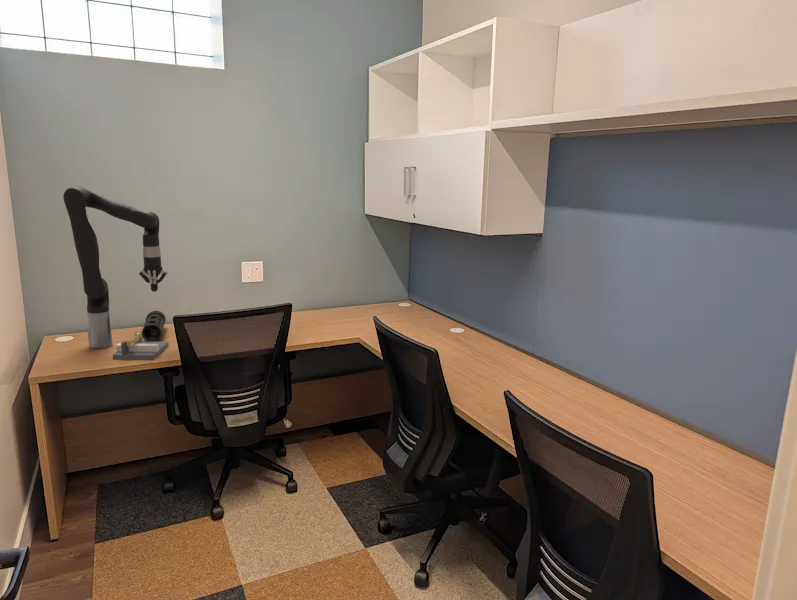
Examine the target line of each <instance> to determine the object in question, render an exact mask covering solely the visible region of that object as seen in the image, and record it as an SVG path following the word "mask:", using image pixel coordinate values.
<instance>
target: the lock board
mask: <svg viewBox="0 0 797 600" xmlns="http://www.w3.org/2000/svg"><path fill="white" fill-rule="evenodd" d="M126 341H127V340H123V341H122V342H121V343H120V342H118V343H117V344H116V345H115V348H116V352H115V353H113V354H112V359H113V360H155V359H156V358H157V357H158V356H159V355H160V354H161V353H162V352H164V350H165V349H166V348H168V345H169V341H159V340H157V341H146V340H145V341H144V340H143V338H142V339H141V340H139V341H137V342H136V343H135V344H134V345H132V346H127V345H126ZM169 346H170V345H169Z"/></svg>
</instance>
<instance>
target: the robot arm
mask: <svg viewBox="0 0 797 600" xmlns="http://www.w3.org/2000/svg"><path fill="white" fill-rule="evenodd" d="M63 202H64V205H65V208H66V211H67V214H68V217H69V222H70V226H71V231H72V236H73V243H74V247H75V252H76V255H77V258H78V261H79V265H80V269H81V272H82V273H81V274H82V282H83V285H82V286H83V291H84V294H85V295H86V297H87V300H86V301H87V302H86V303H87V304H86V310H87V320H88V327H87V328H86V330H87V340H88V347H89V348H93V349H105V348H109V347H111V346H112V345H113V335H112V326H111V325H112V323H111V317H110V316H111V313H110V296H109V294H110V293H109V284H108V283H107V281H106V280H105V278H103V277H102V274H101V271H100V269H101V268H100V249H99V247H100V246H99V243H98V239H97V234H96V232H95V230H94V228H93V227H92V225H91V223H90V221H89V219H88V214H87V208H91V209H96V210H99V211H102V212H104V213H106V214H108V215H109V216H111V217H114V218H117V219H120V220H123V221H126V222H128V223H132V224H134V225H135V226H138V227H141V228H143V234H142V257H143V258H142V259H143V269H142V270H141V271H139V272H138V274H139V276H140V277H141V278H142V279H143V280H144V281H145V283H149V284H150V290H151V291H152V292H153V293H155V292H157V291H158V290H159V283H161V282H162V281H163V280H164V279H165V278H166V276H167V275H168V272H167V271H165V270H164V268H163V267H162V257H161V256H162V255H161V253H162V252H161V247H160V238H159V234H160V233H159V232H160V218H159V215H158V214H156V213H155V212H153V211H152V212H150V211H148V212H144V211H142V210H138V209H137V208H136V207H133V206H131V205H128V204H125V203H121V202H118V201H115V200H112V199H109V198H106V197H104V196H101V195H99V194H97V193H95V192H93V191H91V190H88V189H87V188H85V187H82V186H74V187H68V188H67V189H65V191H64V193H63ZM160 275H161V276H160ZM159 276H160V277H159Z"/></svg>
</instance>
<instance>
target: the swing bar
mask: <svg viewBox="0 0 797 600" xmlns="http://www.w3.org/2000/svg"><path fill="white" fill-rule="evenodd" d="M141 339H142V340H143V337H142V331H141V332H140V331H139V332H134V334H133V335H132V337H130V338H129V339H127V340H125V341H126V345H127V346H132V345H134V344H135V343H136V342H137V341H139V340H141Z"/></svg>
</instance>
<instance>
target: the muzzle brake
mask: <svg viewBox="0 0 797 600" xmlns="http://www.w3.org/2000/svg"><path fill="white" fill-rule="evenodd" d="M165 323H166V316H165V314H164V312H162V311H160V310H153V311H150V312H148V314H147V315H146V317H145V323H144V324H143V327H142V330H141V333H142V339H144V340H145V341H159V340H160V339H161V337H162V334H163V330H164V327H165Z"/></svg>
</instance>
